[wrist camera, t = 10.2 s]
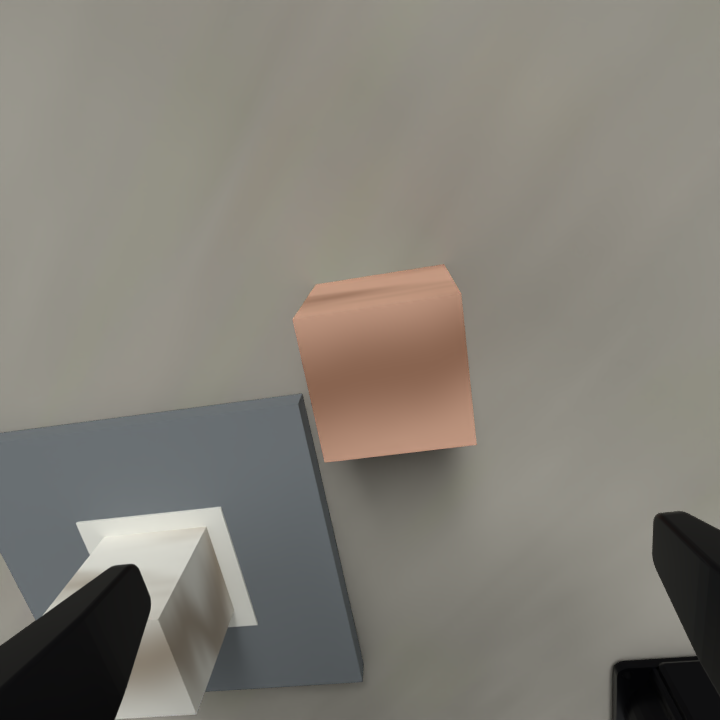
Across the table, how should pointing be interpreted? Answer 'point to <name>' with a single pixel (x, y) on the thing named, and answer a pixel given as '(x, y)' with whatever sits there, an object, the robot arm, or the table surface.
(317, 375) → the terracotta block
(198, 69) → the table surface
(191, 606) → the off-white block
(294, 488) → the blue-grey square plate
